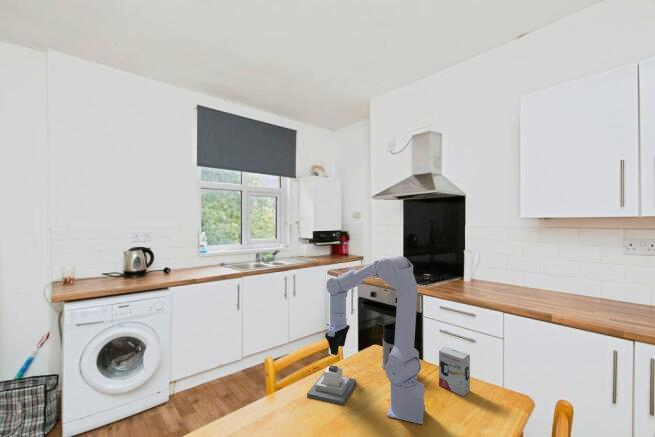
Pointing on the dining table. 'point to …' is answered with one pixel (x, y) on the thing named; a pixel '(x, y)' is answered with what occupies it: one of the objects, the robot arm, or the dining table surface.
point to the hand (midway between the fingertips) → (337, 350)
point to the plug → (333, 376)
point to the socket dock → (332, 390)
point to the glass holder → (388, 342)
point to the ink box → (454, 370)
